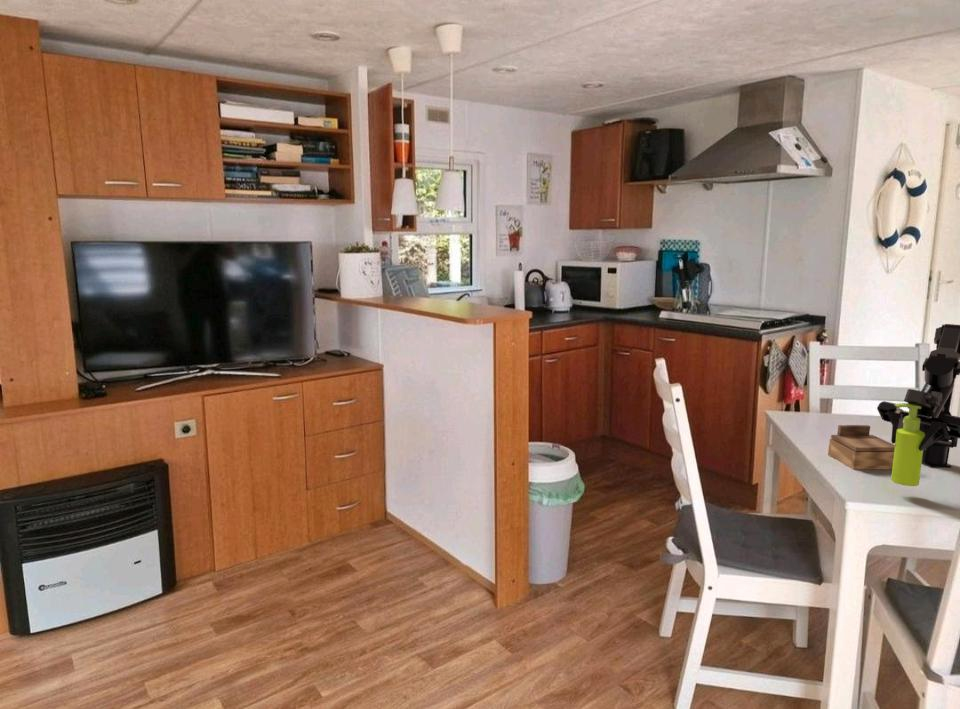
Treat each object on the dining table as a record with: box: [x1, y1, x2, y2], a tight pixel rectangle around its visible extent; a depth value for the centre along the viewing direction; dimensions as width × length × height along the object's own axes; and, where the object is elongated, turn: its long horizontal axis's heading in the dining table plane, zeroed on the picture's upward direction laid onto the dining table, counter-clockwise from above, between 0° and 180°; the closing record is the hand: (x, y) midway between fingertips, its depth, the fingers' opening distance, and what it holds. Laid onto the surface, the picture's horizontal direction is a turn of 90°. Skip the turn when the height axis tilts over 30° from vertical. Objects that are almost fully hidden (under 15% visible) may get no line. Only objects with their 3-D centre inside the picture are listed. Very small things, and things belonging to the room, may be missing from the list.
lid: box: [830, 424, 895, 451], centre depth 185 cm, size 13×12×4 cm
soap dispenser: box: [890, 402, 925, 487], centre depth 159 cm, size 6×7×20 cm
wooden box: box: [827, 438, 894, 470], centre depth 186 cm, size 13×12×5 cm
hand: (905, 446), depth 158 cm, fingers closed on soap dispenser, 6 cm apart
